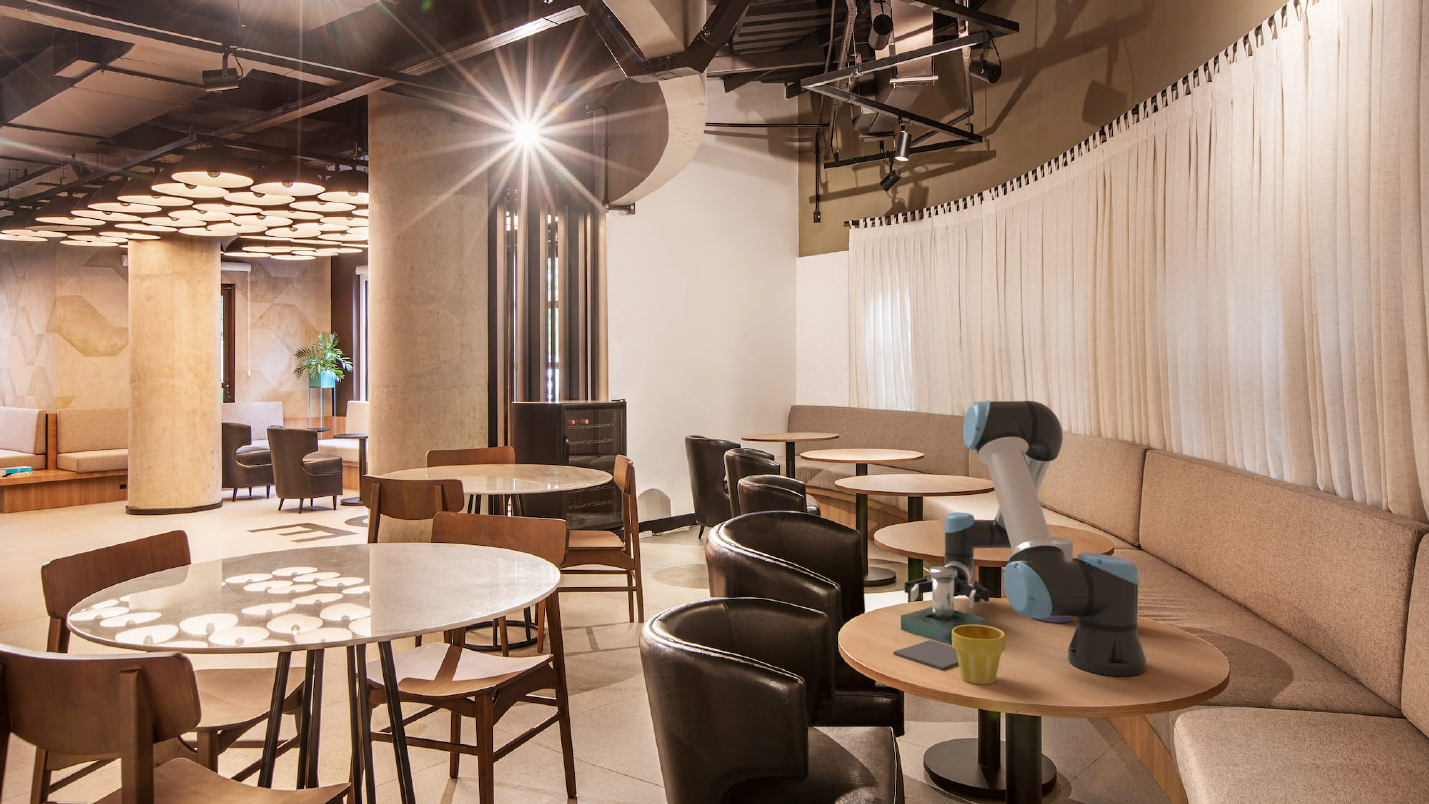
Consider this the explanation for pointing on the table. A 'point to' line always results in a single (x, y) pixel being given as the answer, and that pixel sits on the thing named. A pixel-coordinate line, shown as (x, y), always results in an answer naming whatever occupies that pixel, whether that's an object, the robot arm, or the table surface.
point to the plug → (943, 592)
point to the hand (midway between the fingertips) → (941, 599)
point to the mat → (930, 654)
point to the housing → (936, 624)
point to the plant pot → (978, 652)
